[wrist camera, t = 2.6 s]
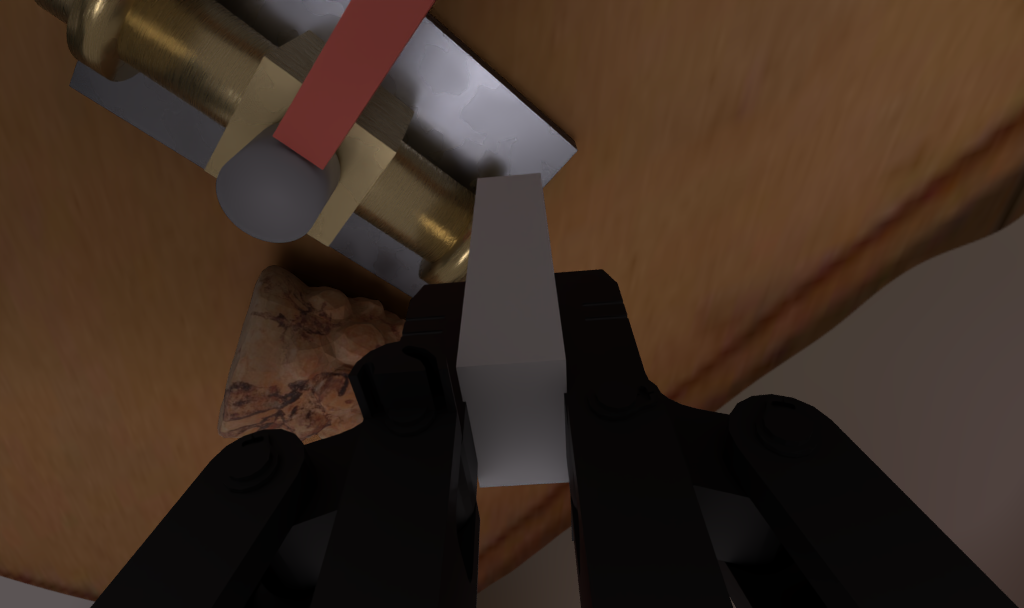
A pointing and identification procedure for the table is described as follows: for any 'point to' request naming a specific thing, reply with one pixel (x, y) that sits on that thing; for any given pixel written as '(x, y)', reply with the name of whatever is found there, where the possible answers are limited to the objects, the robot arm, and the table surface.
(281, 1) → the valve
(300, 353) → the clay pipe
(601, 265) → the table surface
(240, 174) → the lever
